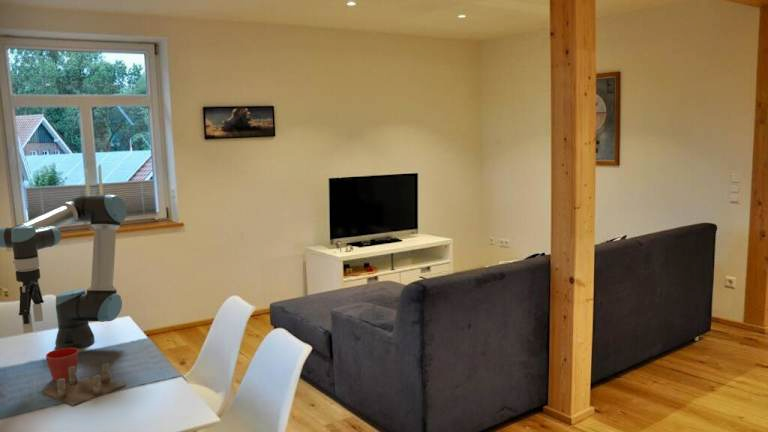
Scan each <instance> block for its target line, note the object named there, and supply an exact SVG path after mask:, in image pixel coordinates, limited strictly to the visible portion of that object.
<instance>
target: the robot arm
mask: <svg viewBox="0 0 768 432" xmlns="http://www.w3.org/2000/svg"><path fill="white" fill-rule="evenodd" d="M127 209H128V208H127V204H126V203H125V200H124V199H123V197H121V196H120V195H118V194H109V193H108V194H86V195H79V196H77V197H74V198H72V199H71V198H70V199H69V200H66V201H65V202H64V201H63V202H62V203H60V204H59V205H58V206H57V207H56V208H54V209H52V210H50V211H47V212H45V213H42V214H40V215H38V216H36V217H33V218H31V219H29V220H27V221H24V222H22V223H20V224H18V225H15V226H12V227H1V228H0V248H6V249H12V252H13V261H12V264H14V268H15V279H16V282H18V283H22V286H19V311H18V316H21V320H22V327H23V333H24V334H25V333H33V332H34V328H33V321H34V323H36V322H37V323H38V322H43V321H44V315H43V306H42V304H44V303H45V300H43V299H44V297H43V295H42V292H41V289H40V288H41V287H40V285H39V280H40V278H41V271H40V268H39V267H40V260H39V254H38V253H39V252H38V250H43V249H45V248H46V249H47V248H51V247H54V246H56V245H58V244H60V242H61V239H62V233H61V231H60V230H59V228H61V227H63V226H66V225H73V224H76V223H82V222H87V223H88V222H89V223H90V226H91V227H92V228H93V245H92V247H93V248H92V263H91V265H92V267H91V279H90V281H91V282H90V286H89V287H88V288H86V290H85V289H83V288H77V289H73V290H68V291H65V292H62V293H60V294H59V293H58V295H56V296H55V312H56V319H57V326H58V327H57V328H58V329H57V334H56V337H55V341H54V342H55V343H54V345H55V348H56V350H57V349H62V348H76V349H80V348H85V347H87V346H90V345H92V344H93V343H94V342H95V334H94V332H93V330H92V329H91V326H90V324H89V322H100V323H104V322H112V321H114V320H116V318H118V316H119V315H120V313H121V311H122V308H123V299H122V297H121V295H119V294H118V293H117V291H118V290H117V288H116V286H115V287H114V276H115V275H114V273H115V259H116V258H115V256H116V238H117V236H116V235H117V234H116V233H117V230H118V229H119V228H120V227H121V222H124V221H125V220H126V218H127V214H128V210H127ZM32 303H33V304H32ZM31 306H32V311H33V318H32V313H31ZM32 319H33V320H32Z"/></svg>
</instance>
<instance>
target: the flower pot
mask: <svg viewBox="0 0 768 432" xmlns="http://www.w3.org/2000/svg"><path fill="white" fill-rule="evenodd" d="M45 358H46V361H47V366H48V369H49V371H50V375H51V377H52V381H54V382H57V380H58V379H62V378H64V379H65V382H66V381H69V371H68V368H69V367H71V366H75V367H76V374H77V370H78V364H79V363H78V362H79V361H78V360H79V348H77V349H76V348H62V349H57V348H56V349H55V350H51V351H49V352H48V353H46V355H45Z"/></svg>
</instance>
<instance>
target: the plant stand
mask: <svg viewBox="0 0 768 432" xmlns="http://www.w3.org/2000/svg"><path fill="white" fill-rule="evenodd" d="M68 371H69V380H68V381H69V383H67V384H66V381H65V379H64V378H62V379H58V380H57V381H56V385H57V387H55V388H51V389H49V390H46V391H44V394H45V395H47V396H49V397H50V398H54V399H56V400H58V401H60V402H63V403H64V404H67V405H69V406H71V407H75V406H78V405H80V404H83V403H85V402H88V401H91V400H93V399H97V398H99V397H100V396H104V395H107V394H109V393H112V392H115V391H117V390H119V389H122V388H125V387H127V384H126V383H122V382H120V381H116V380H114V379H112V378H111V370H110V363H103V364H101V371H102V375H101V374H99V373H94V374H92V375H90V376H86V377H83V378H81V379H78V377H77V373H76V367H75V366H71V367H69V368H68Z"/></svg>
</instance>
